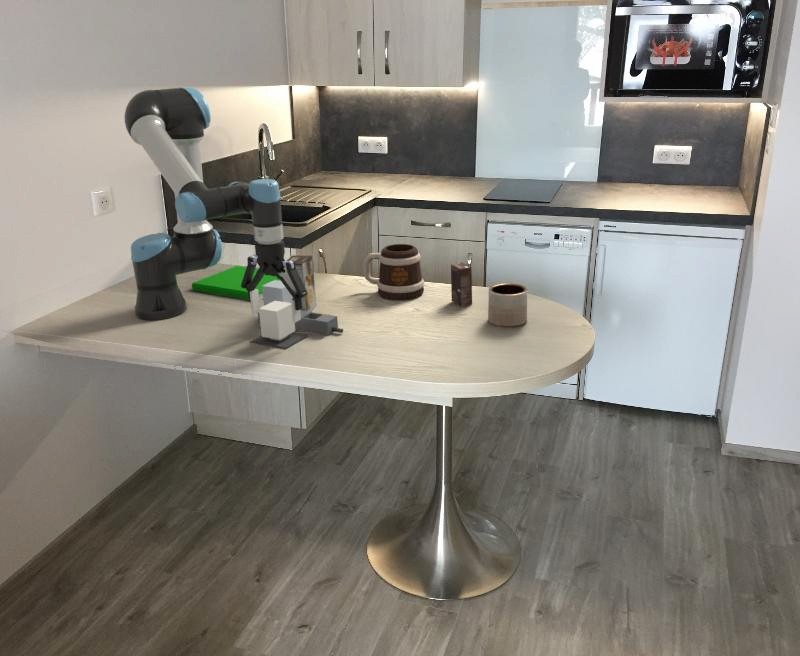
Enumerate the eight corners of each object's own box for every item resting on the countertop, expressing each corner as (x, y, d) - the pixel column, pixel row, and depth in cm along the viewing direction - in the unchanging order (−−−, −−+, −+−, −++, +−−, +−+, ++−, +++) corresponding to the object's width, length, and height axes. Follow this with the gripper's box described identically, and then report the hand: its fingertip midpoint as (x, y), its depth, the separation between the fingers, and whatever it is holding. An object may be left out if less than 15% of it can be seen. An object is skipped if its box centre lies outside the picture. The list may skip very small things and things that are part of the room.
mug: (430, 287, 234) (429, 242, 229) (417, 302, 221) (415, 255, 215) (372, 284, 240) (370, 240, 235) (356, 298, 227) (353, 252, 221)
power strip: (259, 323, 208) (257, 309, 207) (269, 318, 213) (268, 304, 211) (337, 337, 196) (336, 322, 195) (347, 331, 200) (346, 316, 199)
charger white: (278, 332, 201) (274, 300, 197) (295, 335, 198) (292, 303, 194) (262, 340, 195) (258, 308, 191) (280, 344, 192) (276, 311, 189)
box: (450, 301, 220) (450, 263, 216) (463, 299, 222) (463, 261, 218) (459, 307, 215) (459, 268, 211) (472, 305, 217) (472, 266, 213)
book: (237, 273, 259) (236, 265, 258) (300, 283, 246) (299, 274, 245) (192, 291, 241) (191, 283, 240) (257, 303, 228) (256, 294, 227)
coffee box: (297, 304, 223) (292, 254, 217) (317, 305, 222) (312, 255, 216) (287, 315, 215) (281, 263, 209) (307, 315, 213) (302, 263, 207)
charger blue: (265, 316, 206) (261, 285, 202) (278, 310, 211) (274, 279, 207) (285, 320, 203) (281, 288, 199) (297, 313, 207) (294, 282, 204)
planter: (484, 326, 200) (484, 293, 197) (492, 313, 210) (493, 281, 206) (522, 329, 197) (523, 296, 193) (530, 316, 206) (531, 284, 203)
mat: (250, 342, 195) (250, 341, 195) (273, 330, 203) (272, 328, 203) (286, 349, 190) (286, 347, 190) (308, 336, 198) (307, 334, 198)
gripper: (222, 239, 189) (231, 314, 197) (300, 249, 178) (306, 329, 186) (240, 232, 195) (248, 305, 203) (317, 242, 184) (322, 319, 192)
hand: (276, 317), depth 195 cm, fingers open, 13 cm apart
